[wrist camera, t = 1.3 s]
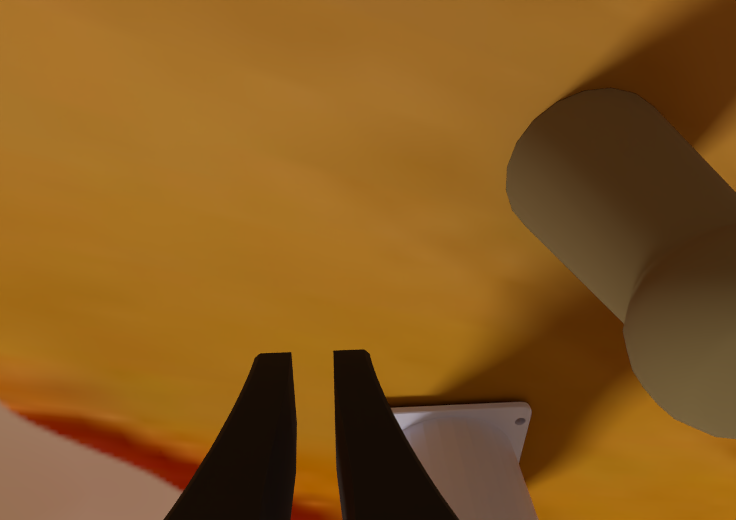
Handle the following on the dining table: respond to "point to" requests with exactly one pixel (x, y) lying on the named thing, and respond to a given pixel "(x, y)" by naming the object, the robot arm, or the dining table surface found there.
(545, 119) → the cork
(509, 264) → the dining table surface
